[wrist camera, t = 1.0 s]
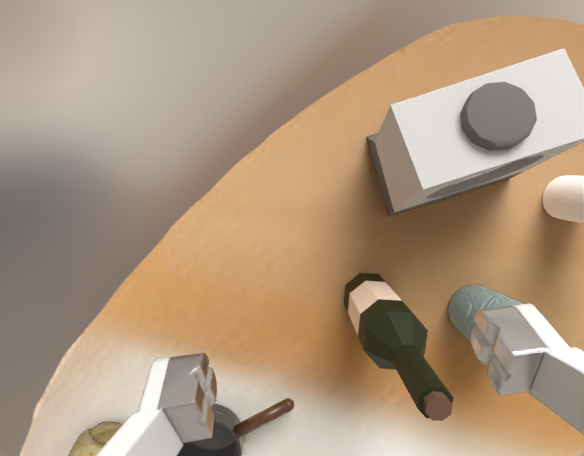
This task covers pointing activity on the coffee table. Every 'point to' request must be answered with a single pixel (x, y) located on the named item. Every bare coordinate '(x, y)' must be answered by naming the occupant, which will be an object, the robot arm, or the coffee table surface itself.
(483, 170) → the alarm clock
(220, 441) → the pan
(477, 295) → the drinking glass
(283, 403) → the pan handle
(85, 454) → the pastry
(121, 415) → the coffee table surface
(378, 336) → the wine bottle
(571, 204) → the cylindrical container
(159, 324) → the coffee table surface
